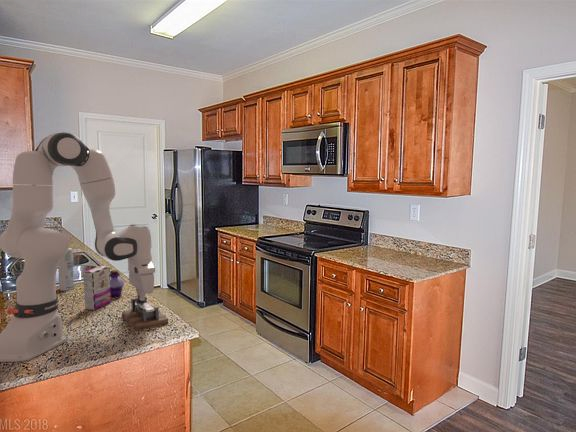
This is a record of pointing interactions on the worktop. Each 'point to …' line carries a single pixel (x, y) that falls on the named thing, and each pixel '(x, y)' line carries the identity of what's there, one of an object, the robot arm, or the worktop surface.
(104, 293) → the candy bar box
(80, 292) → the worktop surface
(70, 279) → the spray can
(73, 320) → the worktop surface
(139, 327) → the walnut base plate
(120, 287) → the potion bottle
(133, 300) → the block
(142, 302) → the clamp bar
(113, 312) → the worktop surface
